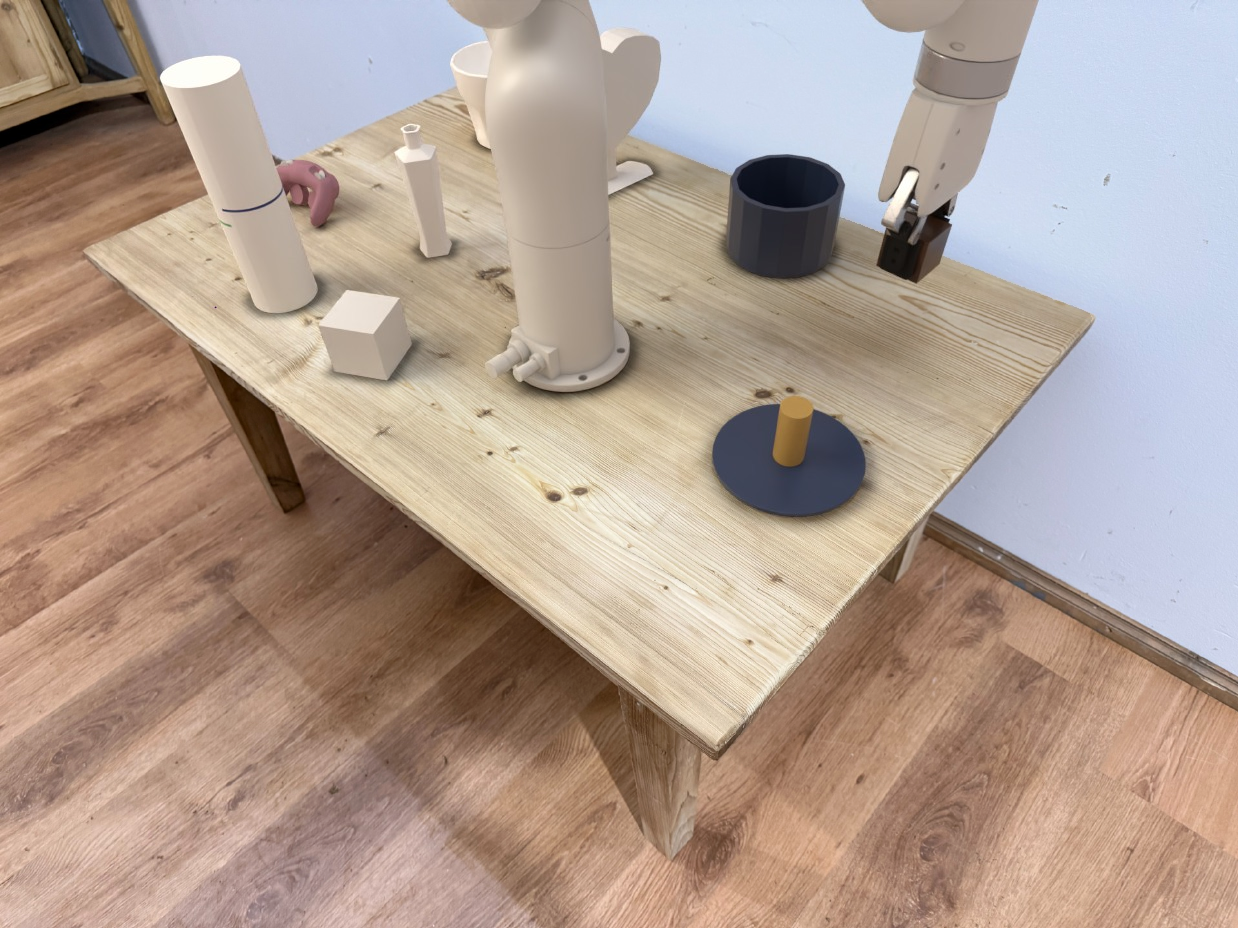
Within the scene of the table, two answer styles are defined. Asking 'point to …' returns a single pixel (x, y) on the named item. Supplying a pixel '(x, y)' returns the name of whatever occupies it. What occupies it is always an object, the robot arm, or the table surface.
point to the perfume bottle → (424, 191)
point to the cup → (473, 83)
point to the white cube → (366, 334)
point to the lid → (789, 459)
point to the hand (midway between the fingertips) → (909, 260)
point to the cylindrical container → (241, 179)
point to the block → (926, 245)
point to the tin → (783, 215)
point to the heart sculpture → (627, 95)
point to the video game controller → (314, 177)
